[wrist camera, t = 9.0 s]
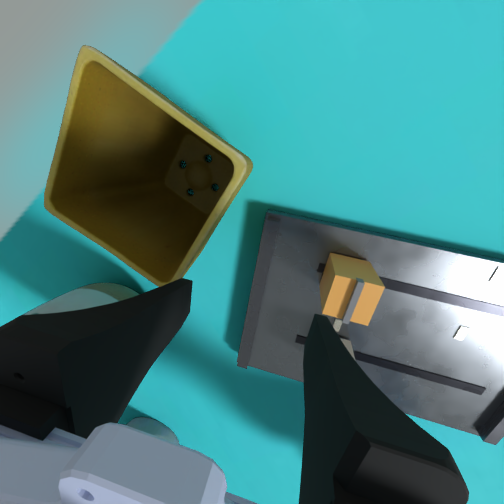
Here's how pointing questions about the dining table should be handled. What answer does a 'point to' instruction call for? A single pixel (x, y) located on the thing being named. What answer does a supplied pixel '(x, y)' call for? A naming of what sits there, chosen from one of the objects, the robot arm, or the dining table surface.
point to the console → (388, 319)
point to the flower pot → (138, 171)
